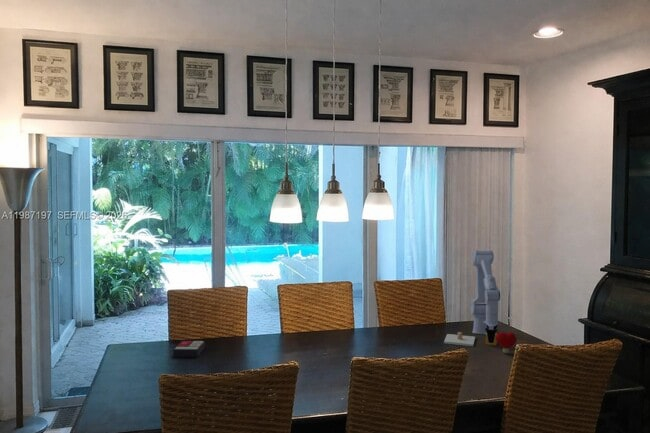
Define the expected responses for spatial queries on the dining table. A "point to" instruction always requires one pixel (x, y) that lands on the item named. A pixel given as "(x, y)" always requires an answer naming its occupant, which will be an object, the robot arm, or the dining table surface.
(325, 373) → the dining table surface
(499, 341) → the dark red rounded lump
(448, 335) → the plate
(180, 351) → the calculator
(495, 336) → the tilted mustard cube
